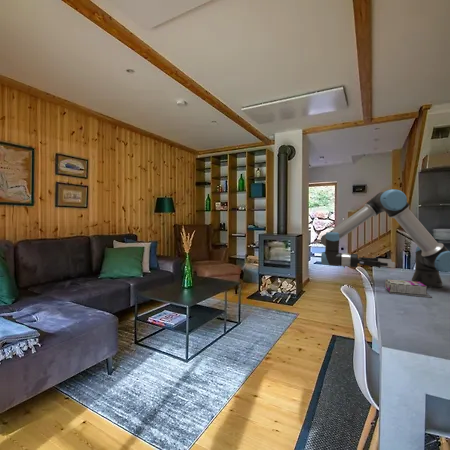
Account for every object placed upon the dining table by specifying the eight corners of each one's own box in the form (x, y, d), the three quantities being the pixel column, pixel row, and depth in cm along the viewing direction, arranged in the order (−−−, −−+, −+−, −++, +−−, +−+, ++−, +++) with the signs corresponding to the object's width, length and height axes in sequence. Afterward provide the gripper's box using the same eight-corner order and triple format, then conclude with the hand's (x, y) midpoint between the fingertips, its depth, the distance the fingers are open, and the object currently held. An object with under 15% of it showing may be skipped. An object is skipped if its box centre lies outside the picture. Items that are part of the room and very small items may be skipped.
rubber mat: (424, 291, 151) (424, 290, 151) (432, 298, 137) (432, 297, 137) (386, 287, 159) (386, 286, 159) (389, 293, 144) (389, 292, 144)
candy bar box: (419, 290, 150) (384, 287, 155) (420, 281, 150) (385, 278, 155) (426, 296, 139) (389, 292, 145) (427, 286, 139) (389, 282, 145)
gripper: (349, 263, 171) (389, 266, 162) (349, 270, 148) (396, 273, 139) (350, 251, 171) (390, 254, 162) (350, 255, 148) (396, 258, 139)
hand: (393, 263), depth 150 cm, fingers open, 13 cm apart
